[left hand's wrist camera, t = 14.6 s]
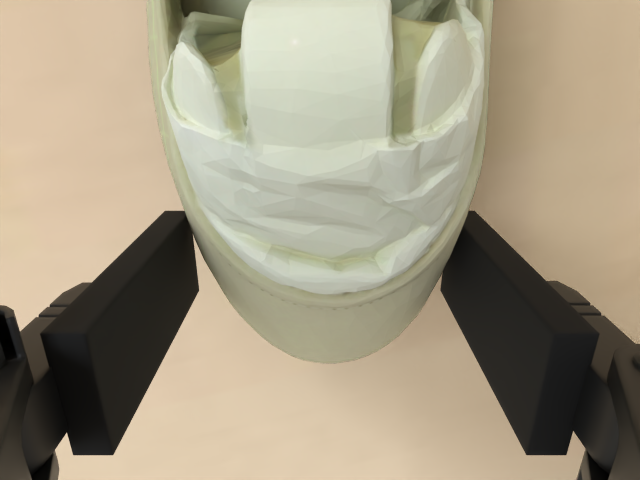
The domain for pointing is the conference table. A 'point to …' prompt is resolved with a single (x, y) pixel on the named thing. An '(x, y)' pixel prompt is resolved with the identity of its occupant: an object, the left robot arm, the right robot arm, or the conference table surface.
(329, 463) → the conference table surface
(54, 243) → the conference table surface
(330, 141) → the ballet flat
